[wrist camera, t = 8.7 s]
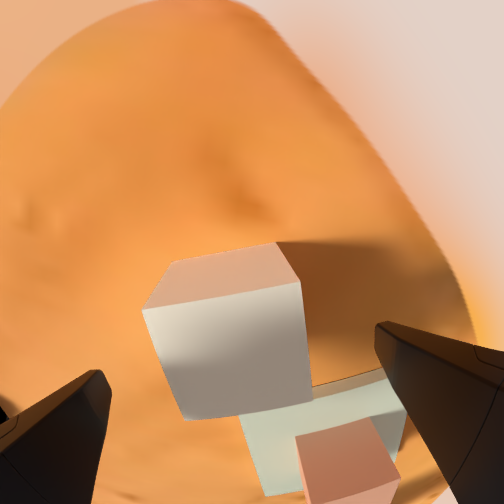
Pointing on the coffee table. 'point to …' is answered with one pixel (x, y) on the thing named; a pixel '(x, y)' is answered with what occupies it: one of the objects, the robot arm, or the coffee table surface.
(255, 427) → the plate
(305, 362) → the cream brick
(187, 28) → the coffee table surface
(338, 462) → the terracotta brick
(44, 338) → the coffee table surface
